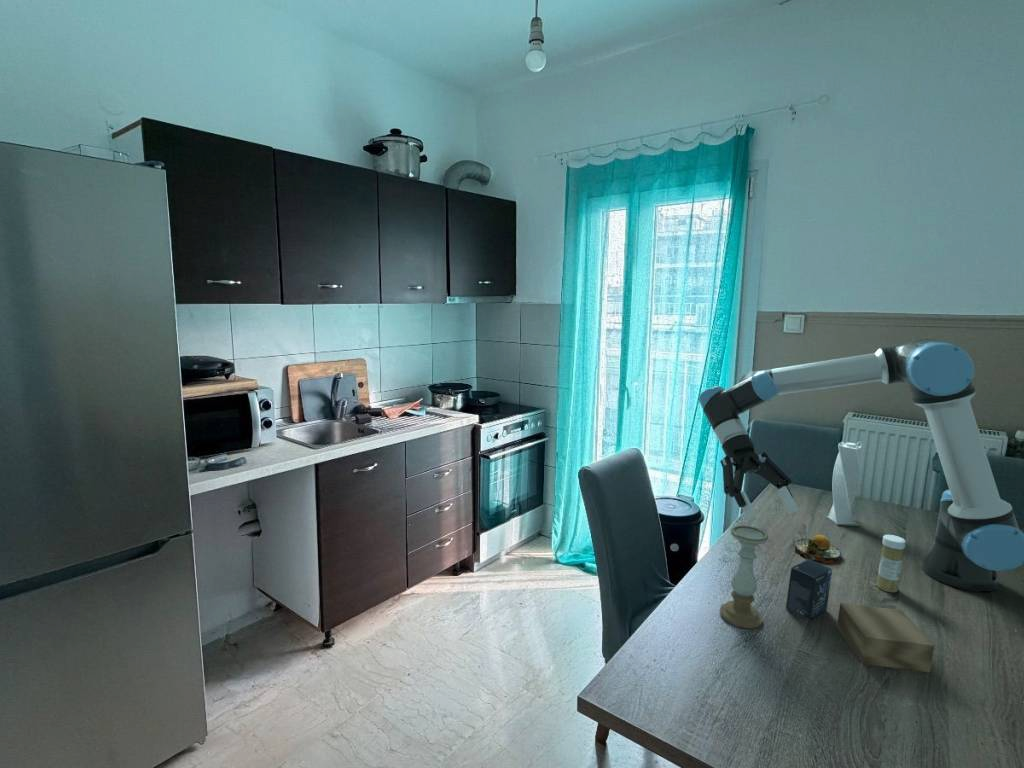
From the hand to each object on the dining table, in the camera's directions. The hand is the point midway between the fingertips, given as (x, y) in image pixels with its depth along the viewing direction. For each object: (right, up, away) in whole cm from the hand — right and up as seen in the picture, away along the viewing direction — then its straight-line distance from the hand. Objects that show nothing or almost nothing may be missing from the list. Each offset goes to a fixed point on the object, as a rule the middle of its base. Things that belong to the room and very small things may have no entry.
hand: (773, 515), depth 130 cm
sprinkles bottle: (+30, -19, +3) cm, 36 cm away
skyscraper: (+43, -13, +43) cm, 62 cm away
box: (+4, -20, -7) cm, 22 cm away
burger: (+23, -16, +21) cm, 35 cm away
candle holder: (-13, -20, -11) cm, 26 cm away
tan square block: (+12, -23, -20) cm, 33 cm away
